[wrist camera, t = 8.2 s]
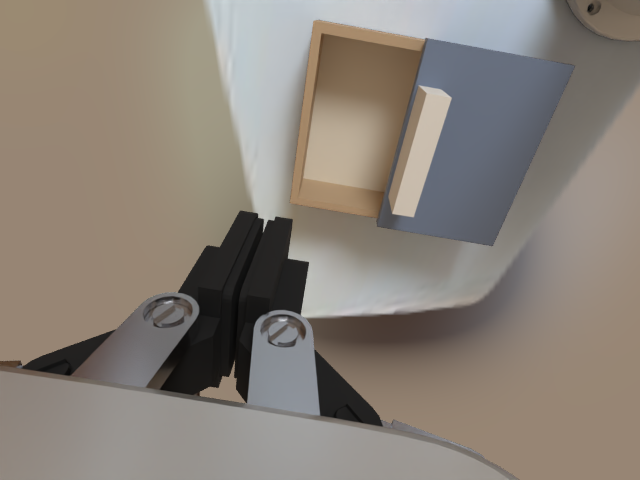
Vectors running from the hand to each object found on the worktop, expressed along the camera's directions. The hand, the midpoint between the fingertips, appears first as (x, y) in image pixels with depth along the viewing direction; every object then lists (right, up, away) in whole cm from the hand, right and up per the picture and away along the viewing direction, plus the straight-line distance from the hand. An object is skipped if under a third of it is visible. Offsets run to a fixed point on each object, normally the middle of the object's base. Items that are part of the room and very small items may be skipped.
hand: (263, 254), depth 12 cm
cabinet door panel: (+12, +7, +15) cm, 21 cm away
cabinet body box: (+5, +11, +20) cm, 23 cm away
